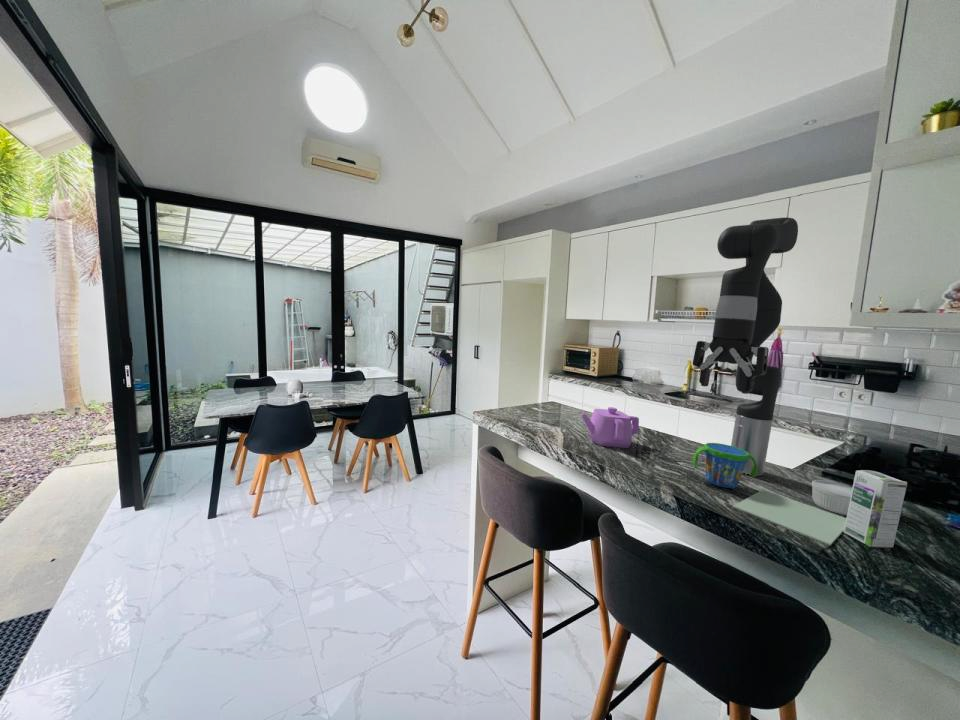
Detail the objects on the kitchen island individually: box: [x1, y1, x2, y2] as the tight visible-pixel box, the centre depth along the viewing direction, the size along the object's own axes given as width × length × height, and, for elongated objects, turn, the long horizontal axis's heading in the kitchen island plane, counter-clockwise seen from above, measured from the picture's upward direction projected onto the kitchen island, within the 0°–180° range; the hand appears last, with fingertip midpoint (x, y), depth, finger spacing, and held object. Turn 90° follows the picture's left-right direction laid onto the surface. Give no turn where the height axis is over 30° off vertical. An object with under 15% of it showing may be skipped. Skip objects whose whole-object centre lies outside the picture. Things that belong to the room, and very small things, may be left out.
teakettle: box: [580, 406, 640, 449], centre depth 140 cm, size 17×17×12 cm
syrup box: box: [842, 469, 908, 548], centre depth 83 cm, size 6×6×14 cm
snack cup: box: [692, 442, 757, 490], centre depth 108 cm, size 16×10×10 cm
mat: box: [732, 489, 847, 547], centre depth 93 cm, size 20×18×1 cm
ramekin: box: [811, 479, 853, 517], centre depth 99 cm, size 11×11×5 cm
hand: (724, 389), depth 88 cm, fingers open, 8 cm apart
